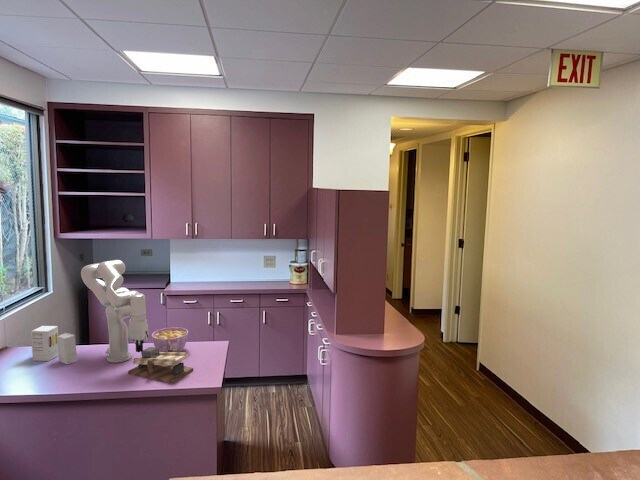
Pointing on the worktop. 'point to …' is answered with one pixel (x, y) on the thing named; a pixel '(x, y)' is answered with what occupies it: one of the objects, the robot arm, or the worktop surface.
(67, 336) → the skincare box
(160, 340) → the bowl of food
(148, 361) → the stand
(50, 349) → the supplement box
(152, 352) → the block
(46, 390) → the worktop surface
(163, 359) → the cream curved piece
